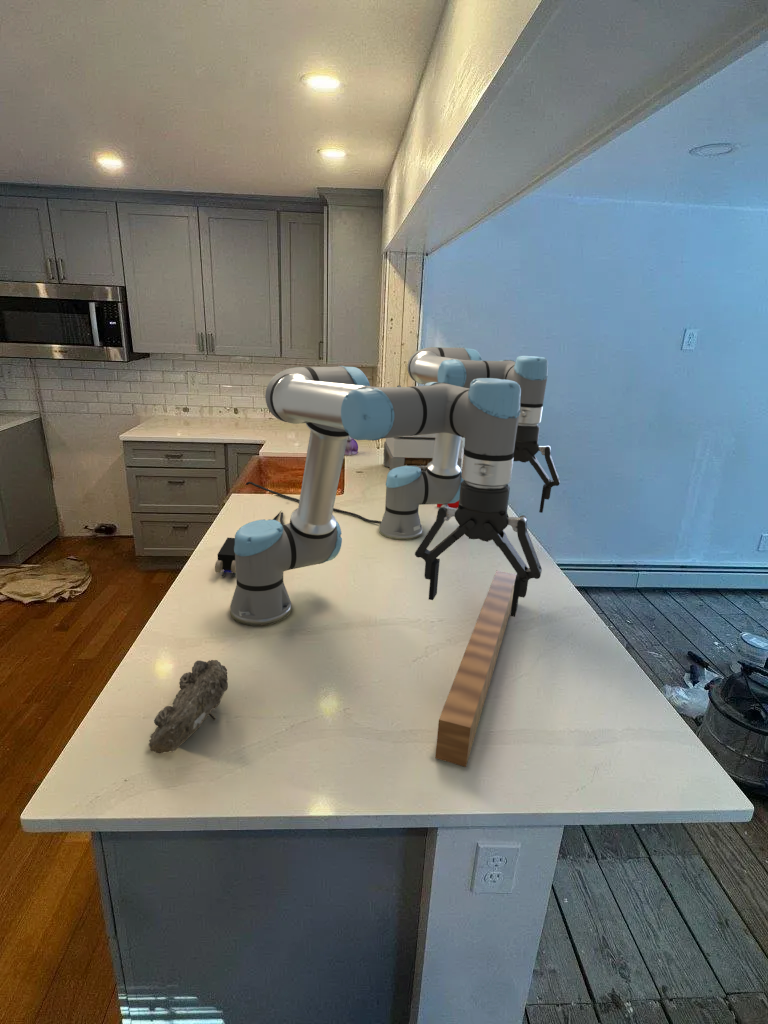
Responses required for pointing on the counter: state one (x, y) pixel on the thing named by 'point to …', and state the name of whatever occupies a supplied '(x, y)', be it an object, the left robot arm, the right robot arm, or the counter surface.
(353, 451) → the figurine
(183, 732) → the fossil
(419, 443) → the grey wooden crate
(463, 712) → the post
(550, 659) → the counter surface
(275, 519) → the feather
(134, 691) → the counter surface
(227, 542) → the black toy vehicle
